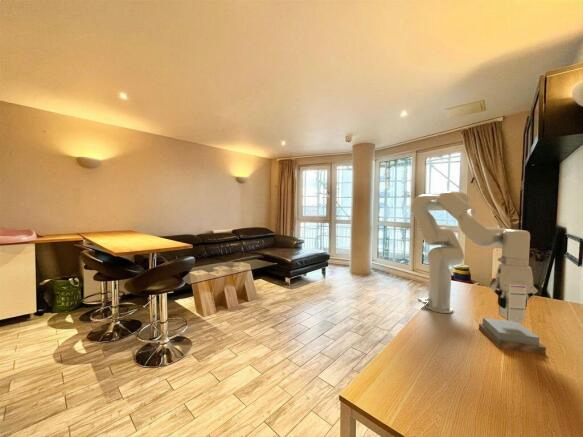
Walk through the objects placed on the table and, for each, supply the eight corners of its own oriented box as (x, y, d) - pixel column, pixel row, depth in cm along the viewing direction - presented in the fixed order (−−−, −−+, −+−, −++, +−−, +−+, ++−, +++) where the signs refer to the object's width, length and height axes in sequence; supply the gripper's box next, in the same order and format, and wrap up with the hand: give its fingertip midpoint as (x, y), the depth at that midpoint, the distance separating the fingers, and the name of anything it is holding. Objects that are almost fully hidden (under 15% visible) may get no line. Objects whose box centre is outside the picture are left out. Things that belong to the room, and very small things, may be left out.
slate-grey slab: (499, 340, 88) (499, 332, 88) (482, 324, 100) (483, 317, 100) (538, 345, 85) (539, 337, 85) (517, 328, 96) (517, 321, 96)
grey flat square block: (499, 349, 87) (499, 341, 87) (478, 330, 101) (479, 323, 101) (545, 355, 84) (546, 347, 84) (517, 334, 98) (518, 327, 97)
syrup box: (525, 322, 88) (528, 284, 87) (507, 321, 89) (509, 283, 89) (514, 315, 94) (516, 280, 93) (497, 314, 95) (499, 279, 94)
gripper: (494, 262, 89) (491, 309, 90) (550, 265, 85) (546, 314, 86) (483, 258, 96) (480, 301, 97) (533, 261, 92) (530, 306, 93)
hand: (511, 307), depth 91 cm, fingers closed on syrup box, 5 cm apart
